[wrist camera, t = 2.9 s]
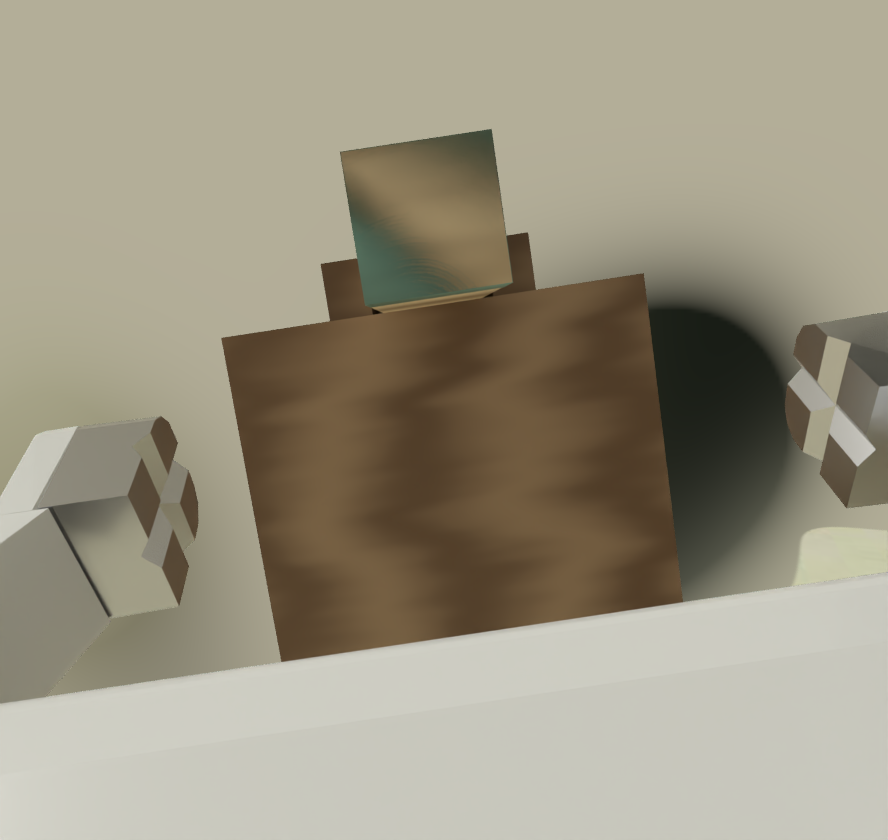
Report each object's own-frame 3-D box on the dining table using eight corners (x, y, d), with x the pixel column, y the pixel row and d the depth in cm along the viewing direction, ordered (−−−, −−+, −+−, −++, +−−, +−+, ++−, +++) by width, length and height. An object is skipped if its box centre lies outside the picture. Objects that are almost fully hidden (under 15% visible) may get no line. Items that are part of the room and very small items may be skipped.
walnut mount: (627, 747, 44) (563, 254, 41) (723, 938, 30) (636, 215, 27) (368, 789, 44) (282, 297, 41) (344, 1001, 30) (210, 280, 27)
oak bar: (396, 319, 42) (385, 254, 42) (460, 309, 42) (450, 244, 42) (365, 305, 18) (339, 151, 18) (512, 282, 18) (491, 129, 18)
